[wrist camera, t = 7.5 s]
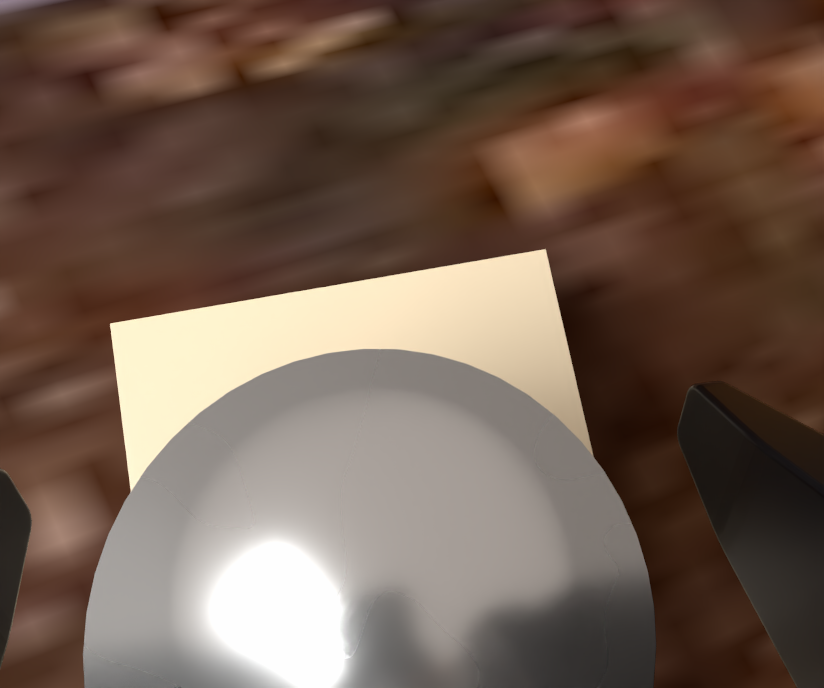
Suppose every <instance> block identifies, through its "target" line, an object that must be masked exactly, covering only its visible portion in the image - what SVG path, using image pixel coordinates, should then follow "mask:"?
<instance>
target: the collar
mask: <svg viewBox="0 0 824 688" xmlns="http://www.w3.org/2000/svg"><path fill="white" fill-rule="evenodd" d="M110 327H111V335H112V343H113V351H114V359H115V367H116V375H117V383H118V391H119V399H120V407H121V415H122V423H123V431H124V439H125V447H126V456H127V464H128V472H129V480H130V488H131V491H132V490H133V488H134V486H135V485H136V483H137V482H138V480H139V479H140V477H141V476H142V474H143V473H144V471H145V470H146V468H147V467H148V466H149V465H150V463H151V462H152V461H153V460H154V459H155V457H156V456H157V455H158V454H159V453H160V451H161V450H162V449H163V448H164V447H165V446H166V444H167V443H168V442H169V441H170V440H171V439H172V438H173V437H174V436H175V435H176V434H177V433H178V432H179V431H180V430H181V429H182V428H183V427H185V426H186V425H187V424H188V423H189V422H190V421H191V420H192V419H193V418H194V417H195V416H196V415H198V414H199V413H200V412H201V411H203V410H204V409H205V408H207V407H208V406H210V405H211V404H212V403H214V402H215V401H217V400H218V399H219V398H221V397H222V396H224V395H225V394H226V393H228V392H229V391H231V390H233V389H235V388H237V387H239V386H240V385H242V384H244V383H246V382H248V381H250V380H251V379H253V378H255V377H257V376H259V375H261V374H263V373H266V372H268V371H271V370H273V369H276V368H279V367H281V366H284V365H286V364H289V363H292V362H294V361H298V360H302V359H306V358H310V357H314V356H318V355H322V354H326V353H332V352H340V351H349V350H358V349H400V350H407V351H414V352H421V353H427V354H434V355H437V356H441V357H444V358H448V359H452V360H455V361H459V362H462V363H466V364H468V365H471V366H473V367H475V368H478V369H480V370H482V371H485V372H487V373H489V374H492V375H494V376H496V377H499V378H500V379H502V380H504V381H506V382H507V383H509V384H511V385H512V386H514V387H516V388H517V389H519V390H521V391H523V392H524V393H526V394H528V395H529V396H530V397H532V398H533V399H534V400H536V401H537V402H538V403H539V404H541V405H542V406H543V407H545V408H546V409H547V410H549V411H550V412H551V413H552V414H554V415H555V416H556V417H557V418H558V419H559V420H560V421H561V422H562V423H563V424H564V425H565V426H566V427H567V428H568V429H569V430H570V431H571V432H572V433H573V434H574V435H575V436H576V437H577V438H578V439H579V440H580V441H581V442H582V443H583V444H584V446H585V447H586V448H587V449H588V451H589V452H590V453H591V455H592V456H593V452H592V448H591V443H590V439H589V435H588V431H587V426H586V422H585V418H584V413H583V409H582V405H581V400H580V396H579V392H578V387H577V383H576V379H575V374H574V370H573V366H572V361H571V357H570V353H569V348H568V344H567V340H566V336H565V331H564V327H563V323H562V318H561V314H560V310H559V305H558V301H557V297H556V292H555V288H554V284H553V279H552V275H551V271H550V266H549V262H548V258H547V254H546V249H544V250H538V251H532V252H527V253H521V254H515V255H509V256H503V257H497V258H491V259H486V260H480V261H474V262H468V263H462V264H456V265H451V266H445V267H439V268H433V269H427V270H421V271H415V272H410V273H404V274H398V275H392V276H386V277H380V278H375V279H369V280H363V281H357V282H351V283H345V284H339V285H334V286H328V287H322V288H316V289H310V290H304V291H299V292H293V293H287V294H281V295H275V296H269V297H263V298H258V299H252V300H246V301H240V302H234V303H228V304H223V305H217V306H211V307H205V308H199V309H193V310H187V311H182V312H176V313H170V314H164V315H158V316H152V317H147V318H141V319H135V320H129V321H123V322H117V323H111V324H110ZM593 457H594V456H593Z"/></svg>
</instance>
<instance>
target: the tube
mask: <svg viewBox="0 0 824 688" xmlns="http://www.w3.org/2000/svg"><path fill="white" fill-rule="evenodd" d="M655 657H656V633H655V614H654V604H653V598H652V593H651V587H650V581H649V576H648V570H647V567H646V564H645V560H644V557H643V554H642V550H641V547H640V544H639V540H638V537H637V534H636V532H635V530H634V527H633V525H632V523H631V520H630V518H629V516H628V514H627V511H626V509H625V507H624V505H623V502H622V500H621V499H620V497H619V495H618V494H617V492H616V490H615V489H614V487H613V485H612V484H611V482H610V480H609V479H608V477H607V475H606V473H605V472H604V470H603V469H602V467H601V466H600V465H599V464H598V462H597V461H596V460H595V458H594V457H593V456H592V455H591V453H590V452H589V451H588V449H587V448H586V447H585V446H584V444H583V443H582V442H581V441H580V440H579V439H578V438H577V437H576V436H575V435H574V434H573V433H572V432H571V431H570V430H569V429H568V428H567V427H566V426H565V425H564V424H563V423H562V422H561V421H560V420H559V419H558V418H557V417H556V416H555V415H554V414H552V413H551V412H550V411H549V410H547V409H546V408H545V407H543V406H542V405H541V404H539V403H538V402H537V401H536V400H534V399H533V398H532V397H530V396H529V395H528V394H526V393H524V392H523V391H521V390H519V389H517V388H516V387H514V386H512V385H511V384H509V383H507V382H506V381H504V380H502V379H500V378H499V377H496V376H494V375H492V374H489V373H487V372H485V371H482V370H480V369H478V368H475V367H473V366H471V365H468V364H466V363H462V362H459V361H455V360H452V359H448V358H444V357H441V356H437V355H434V354H427V353H421V352H414V351H407V350H400V349H358V350H349V351H340V352H332V353H326V354H322V355H318V356H314V357H310V358H306V359H302V360H298V361H294V362H292V363H289V364H286V365H284V366H281V367H279V368H276V369H273V370H271V371H268V372H266V373H263V374H261V375H259V376H257V377H255V378H253V379H251V380H250V381H248V382H246V383H244V384H242V385H240V386H239V387H237V388H235V389H233V390H231V391H229V392H228V393H226V394H225V395H224V396H222V397H221V398H219V399H218V400H217V401H215V402H214V403H212V404H211V405H210V406H208V407H207V408H205V409H204V410H203V411H201V412H200V413H199V414H198V415H196V416H195V417H194V418H193V419H192V420H191V421H190V422H189V423H188V424H187V425H186V426H185V427H183V428H182V429H181V430H180V431H179V432H178V433H177V434H176V435H175V436H174V437H173V438H172V439H171V440H170V441H169V442H168V443H167V444H166V446H165V447H164V448H163V449H162V450H161V451H160V453H159V454H158V455H157V456H156V457H155V459H154V460H153V461H152V462H151V463H150V465H149V466H148V467H147V468H146V470H145V471H144V473H143V474H142V476H141V477H140V479H139V480H138V482H137V483H136V485H135V486H134V488H133V490H132V491H131V493H130V494H129V496H128V497H127V499H126V500H125V502H124V504H123V506H122V508H121V510H120V512H119V514H118V516H117V519H116V521H115V523H114V525H113V527H112V529H111V531H110V533H109V535H108V537H107V540H106V543H105V546H104V549H103V552H102V555H101V558H100V560H99V563H98V566H97V569H96V572H95V576H94V580H93V585H92V590H91V595H90V599H89V604H88V609H87V614H86V626H85V638H84V650H83V661H84V684H85V688H653V686H654V671H655Z"/></svg>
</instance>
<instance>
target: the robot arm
mask: <svg viewBox="0 0 824 688" xmlns="http://www.w3.org/2000/svg"><path fill="white" fill-rule="evenodd" d="M677 435H678V441H679V445H680V448H681V450H682V453H683V455H684V458H685V460H686V463H687V465H688V468H689V470H690V472H691V475H692V477H693V480H694V482H695V485H696V487H697V490H698V492H699V495H700V497H701V500H702V502H703V505H704V507H705V510H706V512H707V515H708V517H709V519H710V522H711V524H712V527H713V529H714V531H715V534H716V536H717V538H718V540H719V543H720V545H721V547H722V549H723V551H724V552H725V554H726V556H727V558H728V560H729V562H730V564H731V566H732V568H733V570H734V571H735V573H736V575H737V577H738V579H739V581H740V583H741V584H742V586H743V588H744V590H745V592H746V594H747V596H748V597H749V599H750V601H751V603H752V605H753V607H754V609H755V611H756V612H757V614H758V616H759V618H760V620H761V622H762V624H763V625H764V627H765V629H766V631H767V633H768V635H769V637H770V638H771V640H772V642H773V644H774V646H775V648H776V650H777V651H778V653H779V655H780V657H781V659H782V661H783V663H784V664H785V666H786V668H787V670H788V672H789V674H790V676H791V678H792V679H793V681H794V683H795V685H796V687H797V688H824V434H822V433H820V432H818V431H816V430H814V429H812V428H810V427H809V426H807V425H805V424H803V423H801V422H799V421H797V420H795V419H793V418H792V417H790V416H788V415H786V414H784V413H782V412H780V411H778V410H776V409H775V408H773V407H771V406H769V405H767V404H765V403H763V402H761V401H759V400H758V399H756V398H754V397H752V396H750V395H748V394H746V393H744V392H742V391H741V390H739V389H737V388H735V387H733V386H731V385H729V384H727V383H725V382H722V381H714V382H705V383H697V384H694V385H692V386H691V387H690V388H689V389H688V392H687V395H686V398H685V402H684V406H683V409H682V413H681V417H680V420H679V424H678V429H677ZM31 526H32V520H31V514H30V510H29V508H28V506H27V504H26V503H25V501H24V499H23V498H22V496H21V494H20V493H19V491H18V489H17V488H16V486H15V484H14V483H13V481H12V479H11V478H10V476H9V475H8V473H7V472H6V471H4V470H3V469H1V468H0V667H1V664H2V661H3V657H4V654H5V651H6V647H7V644H8V640H9V635H10V631H11V627H12V623H13V618H14V613H15V608H16V602H17V597H18V592H19V587H20V582H21V577H22V572H23V567H24V562H25V557H26V552H27V547H28V542H29V537H30V532H31Z"/></svg>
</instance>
